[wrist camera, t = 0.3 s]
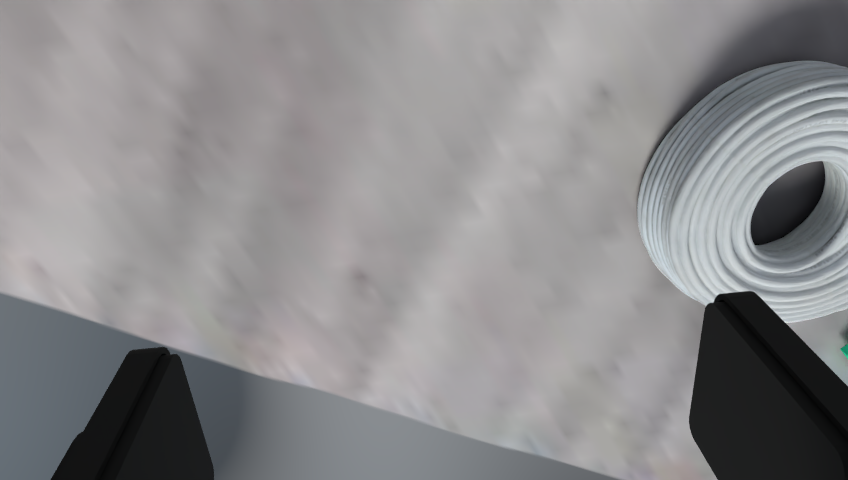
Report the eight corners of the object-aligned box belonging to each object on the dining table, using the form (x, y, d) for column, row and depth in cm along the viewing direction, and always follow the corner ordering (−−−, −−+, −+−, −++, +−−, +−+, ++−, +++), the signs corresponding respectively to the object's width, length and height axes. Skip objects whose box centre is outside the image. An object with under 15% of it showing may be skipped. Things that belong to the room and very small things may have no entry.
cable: (927, 193, 46) (1001, 231, 40) (711, 334, 50) (751, 385, 45) (823, -6, 39) (893, 8, 34) (584, 177, 44) (613, 215, 38)
